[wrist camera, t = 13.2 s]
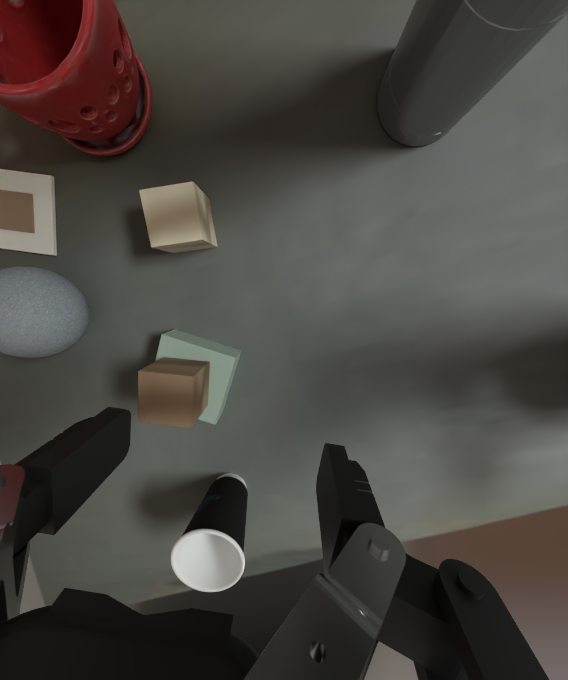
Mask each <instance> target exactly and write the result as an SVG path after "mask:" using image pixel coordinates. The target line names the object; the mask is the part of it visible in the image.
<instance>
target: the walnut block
mask: <svg viewBox="0 0 568 680" xmlns="http://www.w3.org/2000/svg"><path fill="white" fill-rule="evenodd" d="M209 371H210V362H209V361H199V360H189V359H179V358H169V357H163V358H161V359H159V360H157V361H155V362H154V363H152V364H150V365H148V366H146V367H144V368H143V369H141V370H139V371H138V422H142V423H152V424H161V425H171V426H180V427H190V428H192V426H193V425H194V424H195V422H196V421H197V419H198V418H199V417H200V415H201V414H202V413H203V411H204V410H205V408H206V407H207V406H208V394H209Z"/></svg>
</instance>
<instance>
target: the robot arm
mask: <svg viewBox="0 0 568 680" xmlns="http://www.w3.org/2000/svg"><path fill="white" fill-rule="evenodd" d="M567 14H568V0H416V3H415V5H414V7H413V10H412V12H411V14H410V17H409V19H408V21H407V23H406V26H405V28H404V30H403V33H402V35H401V37H400V40H399V42H398V44H397V46H396V48H395V51H394V53H393V55H392V58H391V60H390V62H389V64H388V67H387V69H386V71H385V74H384V76H383V78H382V81H381V84H380V86H379V91H378V96H377V109H378V114H379V119H380V121H381V123H382V126H383V128H384V129H385V130H386V132H387V133H388V134H389V135H390V136H391V137H392V138H393V139H394V140H396V141H398V142H399V143H401V144H404V145H408V146H423V145H428V144H430V143H433V142H435V141H437V140H438V139H440V138H441V137H443V136H444V135H445V134H446V133H447V132H448V131H449V130H450V129H451V128H452V127H453V126H454V125H455V124H456V123H457V122H458V121H459V120H460V119H461V118H462V117H463V116H464V115H465V114H466V113H468V112H469V111H470V110H471V109H472V108H473V107H474V106H475V105H476V104H477V103H478V102H479V101H480V100H481V99H482V98H483V97H484V96H485V95H486V94H487V93H488V92H489V91H490V90H491V89H492V88H493V87H494V86H495V85H496V84H497V83H498V82H499V81H500V80H501V79H502V78H503V77H504V76H505V75H506V74H507V73H508V72H509V71H510V70H511V69H512V68H513V67H514V66H515V65H516V64H517V63H518V62H519V61H520V60H521V59H522V58H523V57H524V56H525V55H526V54H527V53H528V52H529V51H530V50H531V49H532V48H533V47H534V46H535V45H536V44H537V43H538V42H539V41H540V40H541V39H542V38H543V37H544V36H545V35H546V34H547V33H548V32H549V31H550V30H551V29H552V28H553V27H554V26H555V25H556V24H557V23H558V22H560V21H561V20H562V19H563V18H564V17H565V16H566V15H567ZM130 429H131V413H130V411H129V410H125V409H119V408H113V407H108V408H106V409H105V410H103V411H102V412H100V413H99V414H98V415H96V416H95V417H90V418H88V419H85V420H82V421H80V422H77V423H75V424H74V425H72V426H71V427H69V428H68V429H66V430H65V431H64V432H63V433H61V434H59V435H58V436H56V437H55V438H54V439H53V440H50V441H49V442H47V443H46V444H44V445H43V446H41V447H40V448H38V449H37V450H36V451H34V452H33V453H31V454H30V455H28V456H27V457H25V458H24V459H22V460H21V461H19V462H18V463H16V464H15V465H12V464H6V465H0V680H364V678H365V676H366V673H367V670H368V668H369V665H370V662H371V660H372V657H373V654H374V652H375V649H376V646H377V643H378V641H380V642H382V643H383V644H385V645H387V646H389V647H390V648H392V649H394V650H395V651H397V652H399V653H401V654H402V655H404V656H406V657H408V658H409V659H411V660H413V661H414V665H415V668H416V672H417V676H418V680H549V679H548V677H547V675H546V674H545V672H544V670H543V669H542V667H541V665H540V663H539V662H538V660H537V658H536V657H535V655H534V653H533V652H532V650H531V648H530V647H529V645H528V643H527V642H526V640H525V638H524V636H523V635H522V633H521V631H520V630H519V628H518V626H517V625H516V623H515V621H514V620H513V618H512V616H511V615H510V613H509V611H508V610H507V608H506V606H505V605H504V603H503V601H502V599H501V598H500V596H499V595H498V593H497V591H496V590H495V588H494V587H493V586H492V584H491V583H490V582H489V581H488V580H487V579H486V578H485V577H484V576H483V575H482V574H481V573H479V572H478V571H477V570H476V569H474V568H473V567H471V566H469V565H467V564H466V563H463V562H462V561H459V560H455V559H447V560H444V561H443V562H442V563H441V564H440V566H439V569H436V568H434V567H432V566H430V565H427V564H425V563H423V562H421V561H419V560H417V559H415V558H413V557H411V556H409V555H408V554H406V553H405V550H404V548H403V546H402V544H401V542H400V541H399V540H398V538H397V537H396V536H395V535H394V534H393V533H392V532H390V531H389V530H388V529H386V528H385V526H384V523H383V520H382V517H381V515H380V512H379V509H378V506H377V504H376V501H375V498H374V495H373V494H372V490H371V487H370V484H369V482H368V479H367V476H366V473H365V471H364V470H363V469H362V467H361V466H360V465H359V464H358V463H357V462H356V461H351V460H348V457H347V453H346V450H345V447H344V446H341V445H335V444H329V443H325V445H324V449H323V453H322V458H321V462H320V467H319V471H318V476H317V484H316V493H317V503H318V512H319V522H320V531H321V541H322V550H323V560H324V569H325V576H324V575H323V574H322V573H320V574H319V575H317V577H316V578H315V579H314V580H313V582H312V583H311V584H310V586H309V587H308V589H307V590H306V592H305V593H304V594H303V596H302V597H301V599H300V600H299V602H298V603H297V604H296V606H295V607H294V609H293V610H292V611H291V613H290V614H289V616H288V617H287V619H286V620H285V621H284V623H283V624H282V626H281V627H280V628H279V630H278V631H277V633H276V634H275V636H274V637H273V638H272V640H271V641H270V643H269V644H268V645H267V647H266V648H265V650H264V651H263V653H262V654H261V655H260V657H259V656H258V654H257V653H256V652H255V651H254V650H253V649H252V647H251V646H249V644H248V643H246V642H245V641H244V640H243V639H241V638H240V637H239V636H237V635H235V634H233V633H232V632H231V627H232V620H233V615H230V614H224V613H217V612H212V611H205V610H199V609H193V608H191V609H184V610H178V611H170V612H164V613H157V614H150V615H143V614H140V613H138V612H136V611H134V610H132V609H131V608H129V607H127V606H126V605H124V604H122V603H120V602H119V601H117V600H115V599H113V598H112V597H110V596H108V595H106V594H100V593H94V592H88V591H82V590H75V589H69V588H64V590H63V591H62V592H61V594H60V595H59V596H58V598H57V599H56V600H55V602H54V603H53V605H51V606H46V607H42V608H38V609H34V610H31V611H29V612H26V613H23V614H20V615H19V613H20V605H21V599H22V593H23V587H24V581H25V575H26V569H27V563H28V557H29V551H30V540H31V539H32V538H33V537H34V536H35V535H36V534H37V533H44V534H50V535H55V534H56V533H57V532H58V530H59V529H60V528H61V527H62V526H63V525H64V524H65V523H66V522H67V521H68V520H69V518H70V517H71V516H72V515H73V514H74V513H75V512H76V511H77V510H78V509H79V508H80V507H81V505H82V504H83V503H84V502H85V501H86V500H87V499H88V498H89V497H90V496H91V495H92V493H93V492H94V491H95V490H96V489H97V488H98V487H99V486H100V485H101V484H102V483H103V481H104V480H105V479H106V478H107V477H108V476H109V475H110V474H111V473H112V472H113V471H114V470H115V468H116V467H117V466H118V465H119V464H120V463H121V462H122V461H123V460H124V458H125V457H126V455H127V453H128V450H129V446H130Z"/></svg>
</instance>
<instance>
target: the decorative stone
mask: <svg viewBox="0 0 568 680" xmlns="http://www.w3.org/2000/svg"><path fill="white" fill-rule="evenodd" d="M88 323H89V309H88V305H87V302H86V300H85V298H84V296H83V294H82V293H81V292H80V290H79V289H78V288H77V287H76V286H75V285H74V284H73V283H71V282H70V281H69V280H67V279H66V278H64V277H63V276H61V275H59V274H57V273H54V272H52V271H49V270H46V269H41V268H36V267H26V266H20V267H10V268H5V269H1V270H0V352H1V353H4V354H7V355H11V356H16V357H24V358H39V357H46V356H51V355H55V354H57V353H60V352H62V351H65V350H66V349H68V348H70V347H71V346H73V345H74V344H75V343H76V342H77V341H78V340H79V339H80V338H81V337H82V335H83V334H84V332H85V330H86V329H87V326H88Z"/></svg>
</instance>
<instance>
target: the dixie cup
mask: <svg viewBox="0 0 568 680" xmlns="http://www.w3.org/2000/svg"><path fill="white" fill-rule="evenodd" d="M247 497H248V492H247V487H246V483H245V481H244V480H243V479H242V478H241V477H240V476H238V475H236V474H232V473H227V474H223V475H221V476H219V477H218V478H217V479H216V480H215V481H214V482H213V483H212V485H211V487H210V488H209V490H208V492H207V494H206V495H205V497H204V499H203V501H202V502H201V504H200V506H199V507H198V509H197V511H196V513H195V514H194V516H193V518H192V520H191V521H190V523H189V525H188V526H187V528H186V530H185V532H184V533H183V535H182V536H181V537H180V538H179V539H178V540H177V542H176V543H175V544H174V546H173V549H172V552H171V565H172V568H173V570H174V572H175V574H176V575H177V577H178V578H179V579H180V580H181V581H182V582H183V583H185V584H186V585H187V586H189V587H191V588H193V589H196V590H199V591H204V592H217V591H222V590H225V589H227V588H229V587H231V586H233V585H234V584H235V583H236V582H237V581H238V580H239V579H240V577H241V576H242V574H243V571H244V567H245V559H244V554H243V551H244V537H245V524H246V510H247Z"/></svg>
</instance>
